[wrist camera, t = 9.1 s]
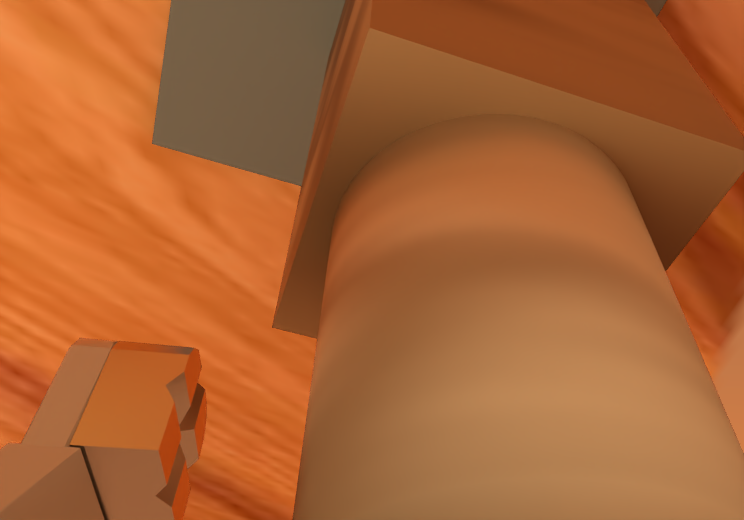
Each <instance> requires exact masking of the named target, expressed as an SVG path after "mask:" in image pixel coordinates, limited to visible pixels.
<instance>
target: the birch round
mask: <svg viewBox="0 0 744 520" xmlns="http://www.w3.org/2000/svg"><path fill="white" fill-rule="evenodd" d="M293 520H744V453H743V451H742V449H741V446H740V444H739V442H738V440H737V437H736V435H735V432H734V430H733V428H732V425H731V423H730V421H729V418H728V416H727V414H726V412H725V409H724V407H723V404H722V402H721V400H720V397H719V395H718V393H717V390H716V388H715V386H714V383H713V381H712V379H711V376H710V374H709V372H708V370H707V367H706V365H705V363H704V360H703V358H702V356H701V353H700V351H699V349H698V346H697V344H696V342H695V339H694V337H693V335H692V332H691V330H690V328H689V325H688V323H687V321H686V318H685V316H684V314H683V311H682V309H681V307H680V304H679V302H678V300H677V297H676V295H675V293H674V290H673V288H672V286H671V283H670V281H669V279H668V277H667V274H666V272H665V270H664V267H663V265H662V263H661V260H660V258H659V256H658V253H657V251H656V249H655V246H654V244H653V242H652V239H651V237H650V235H649V232H648V230H647V228H646V225H645V223H644V221H643V218H642V216H641V214H640V211H639V209H638V207H637V204H636V202H635V200H634V197H633V195H632V193H631V191H630V189H629V186H628V184H627V182H626V180H625V178H624V177H623V175H622V174H621V172H620V171H619V169H618V168H617V166H616V165H615V164H614V163H613V162H612V161H611V159H610V158H609V157H608V156H607V155H606V154H605V153H604V152H603V151H602V150H600V149H599V148H598V147H596V146H595V145H594V144H592V143H591V142H590V141H589V140H587V139H586V138H584V137H582V136H580V135H578V134H576V133H575V132H573V131H571V130H569V129H567V128H564V127H562V126H559V125H556V124H554V123H551V122H548V121H544V120H540V119H536V118H531V117H527V116H518V115H509V114H479V115H471V116H463V117H457V118H453V119H449V120H445V121H441V122H437V123H434V124H431V125H429V126H426V127H423V128H421V129H418V130H416V131H414V132H412V133H410V134H408V135H406V136H404V137H402V138H400V139H398V140H396V141H395V142H393V143H392V144H391V145H389V146H388V147H386V148H385V149H383V150H382V151H380V152H379V153H378V154H377V155H376V156H375V157H373V158H372V159H371V160H370V161H369V162H368V163H367V164H366V165H365V166H364V167H363V168H362V169H361V170H360V172H359V173H358V174H357V175H356V176H355V177H354V179H353V180H352V182H351V183H350V185H349V186H348V188H347V190H346V191H345V193H344V194H343V197H342V199H341V201H340V204H339V206H338V208H337V211H336V215H335V219H334V223H333V228H332V235H331V243H330V250H329V257H328V264H327V272H326V279H325V286H324V294H323V301H322V308H321V316H320V323H319V330H318V337H317V345H316V352H315V359H314V367H313V374H312V381H311V389H310V396H309V403H308V410H307V418H306V425H305V432H304V440H303V447H302V454H301V462H300V469H299V476H298V483H297V491H296V498H295V505H294V513H293Z"/></svg>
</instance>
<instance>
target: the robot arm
mask: <svg viewBox="0 0 744 520" xmlns="http://www.w3.org/2000/svg"><path fill="white" fill-rule="evenodd" d="M201 368H202V365H201V360H200V354H199V350H198V349H196V348H190V347H179V346H168V345H158V344H147V343H136V342H126V341H109V340H98V339H86V338H79V339H78V340H77V341H76V342H75V343H74V344H73V345H72V346H71V347H70V348H69V350H68V352H67V354H66V356H65V357H64V359H63V361H62V363H61V365H60V367H59V369H58V371H57V373H56V375H55V377H54V379H53V381H52V383H51V385H50V387H49V389H48V391H47V393H46V395H45V397H44V399H43V401H42V403H41V405H40V407H39V409H38V411H37V413H36V415H35V417H34V419H33V421H32V423H31V425H30V427H29V429H28V431H27V433H26V434H25V436H24V438H23V440H22V442H21V443H8V444H6V445H5V446H4V447H2V448H1V449H0V520H183V516H184V512H185V509H186V505H187V501H188V498H189V494H190V490H191V487H190V482H189V476H188V470H187V469H188V468H189V467H190V466H191V465H193V464H194V463H195V462H196V461H197V460H198V459H199V456H200V452H201V448H202V444H203V440H204V433H205V426H206V418H207V401H206V393H205V389H204V388H203V387H202V386H201V385H200V384H198V383H197V382H198V379H199V375H200V372H201Z"/></svg>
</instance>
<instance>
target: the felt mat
mask: <svg viewBox="0 0 744 520" xmlns="http://www.w3.org/2000/svg"><path fill="white" fill-rule="evenodd" d="M645 1H646V3H647V4H648V6H649V7H650V8H651V10H652V11H653V13H654V14H655V15H656V17H657V16H658V14H659V13H660V11H661V9H662V8H663V6H664V4H665V3H666V1H667V0H645ZM344 3H345V0H171V7H170V15H169V22H168V30H167V37H166V44H165V52H164V59H163V66H162V74H161V81H160V89H159V96H158V103H157V111H156V118H155V126H154V133H153V140H152V144H155V145H158V146H162V147H165V148H169V149H172V150H176V151H179V152H183V153H186V154H190V155H194V156H197V157H201V158H204V159H208V160H211V161H215V162H218V163H222V164H225V165H229V166H232V167H236V168H239V169H243V170H246V171H250V172H253V173H257V174H260V175H264V176H267V177H271V178H274V179H278V180H281V181H285V182H288V183H292V184H295V185H299V186H302V182H303V177H304V172H305V167H306V162H307V158H308V153H309V148H310V143H311V138H312V134H313V129H314V124H315V119H316V115H317V110H318V105H319V100H320V95H321V91H322V86H323V81H324V76H325V71H326V67H327V62H328V57H329V54H330V51H331V47H332V44H333V40H334V37H335V34H336V30H337V27H338V23H339V20H340V17H341V13H342V10H343V6H344Z"/></svg>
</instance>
